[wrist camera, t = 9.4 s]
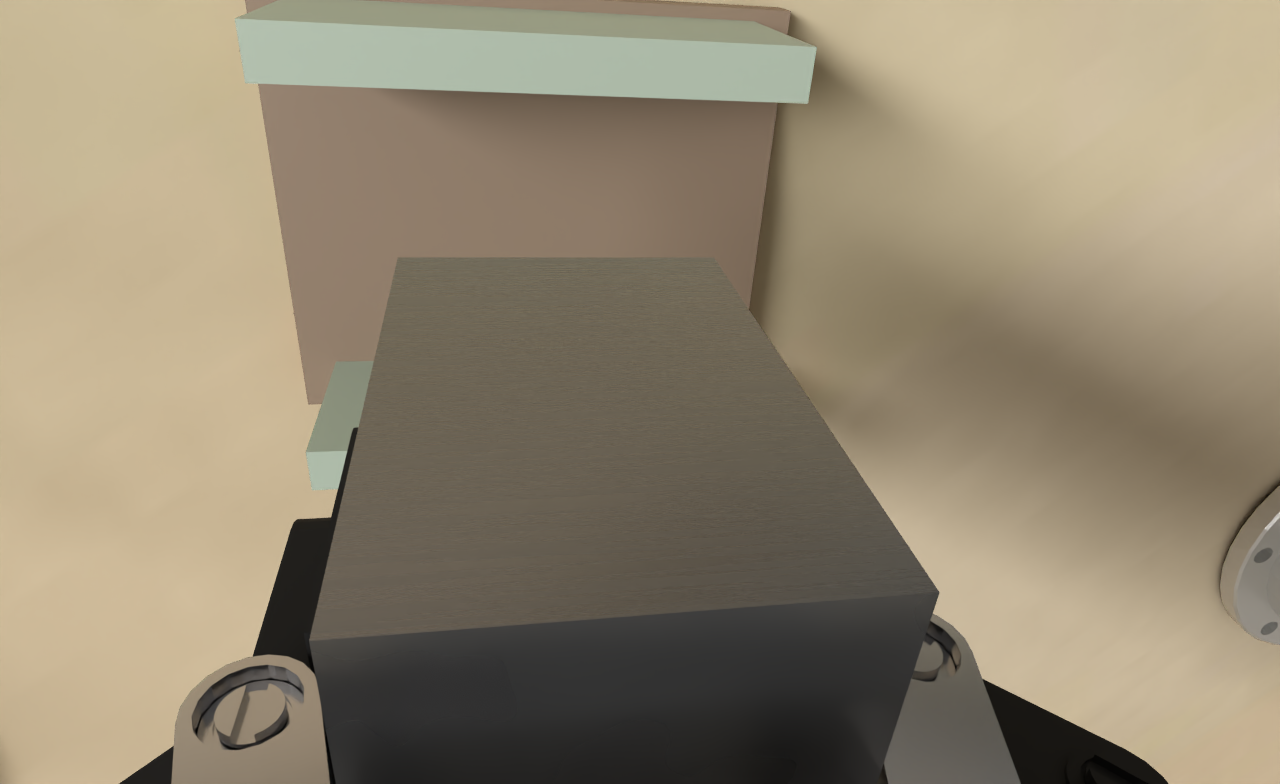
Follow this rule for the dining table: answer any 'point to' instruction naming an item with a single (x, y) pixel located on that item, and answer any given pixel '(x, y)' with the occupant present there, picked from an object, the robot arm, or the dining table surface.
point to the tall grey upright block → (604, 544)
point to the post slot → (503, 148)
